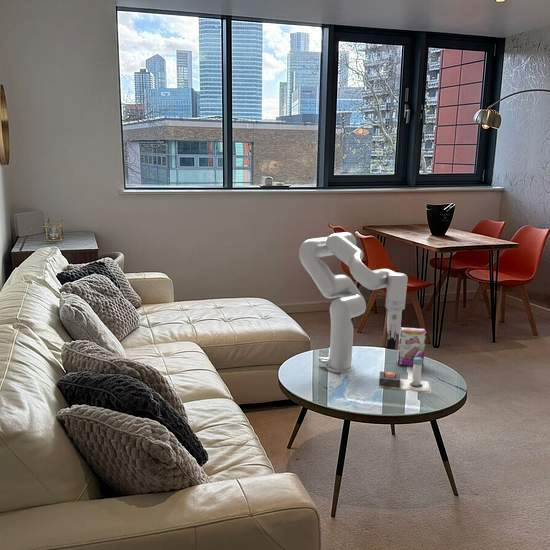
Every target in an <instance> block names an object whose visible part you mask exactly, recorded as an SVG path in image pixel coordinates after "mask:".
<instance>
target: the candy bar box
mask: <svg viewBox="0 0 550 550" xmlns="http://www.w3.org/2000/svg"><path fill="white" fill-rule="evenodd" d="M426 337H427V331H426V329H425V328H415V327H403V326H402V327H400V334H399V335H398V344H397V345H398V346H397V354H396V355H397V357H396V363H397V365H398V366H406V367H407V366H409V367H413V365H414V363H413V362H414V357H420V358H422V359H423V361H422V368H423V366H424V360H425V359H424V356H425V350H426V348H425V347H426V339H427V338H426Z"/></svg>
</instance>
